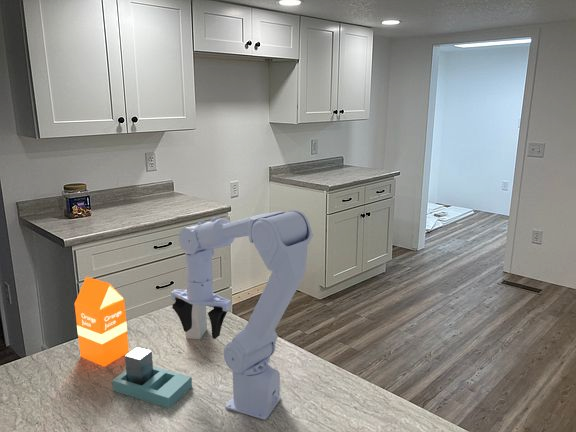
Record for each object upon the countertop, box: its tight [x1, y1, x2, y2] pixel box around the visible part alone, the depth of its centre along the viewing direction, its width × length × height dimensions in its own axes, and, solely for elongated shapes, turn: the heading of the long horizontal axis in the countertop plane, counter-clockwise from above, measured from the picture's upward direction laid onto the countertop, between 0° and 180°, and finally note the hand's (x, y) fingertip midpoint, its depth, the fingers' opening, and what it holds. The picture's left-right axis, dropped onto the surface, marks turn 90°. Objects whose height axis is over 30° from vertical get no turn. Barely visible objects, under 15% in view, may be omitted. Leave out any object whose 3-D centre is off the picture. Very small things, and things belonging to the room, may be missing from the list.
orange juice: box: [74, 276, 130, 367], centre depth 115 cm, size 8×9×20 cm
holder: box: [111, 365, 193, 409], centre depth 104 cm, size 15×8×2 cm, turn 67°
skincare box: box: [185, 305, 208, 340], centre depth 126 cm, size 6×4×12 cm
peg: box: [124, 346, 154, 386], centre depth 104 cm, size 4×4×8 cm
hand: (201, 333), depth 107 cm, fingers open, 7 cm apart
